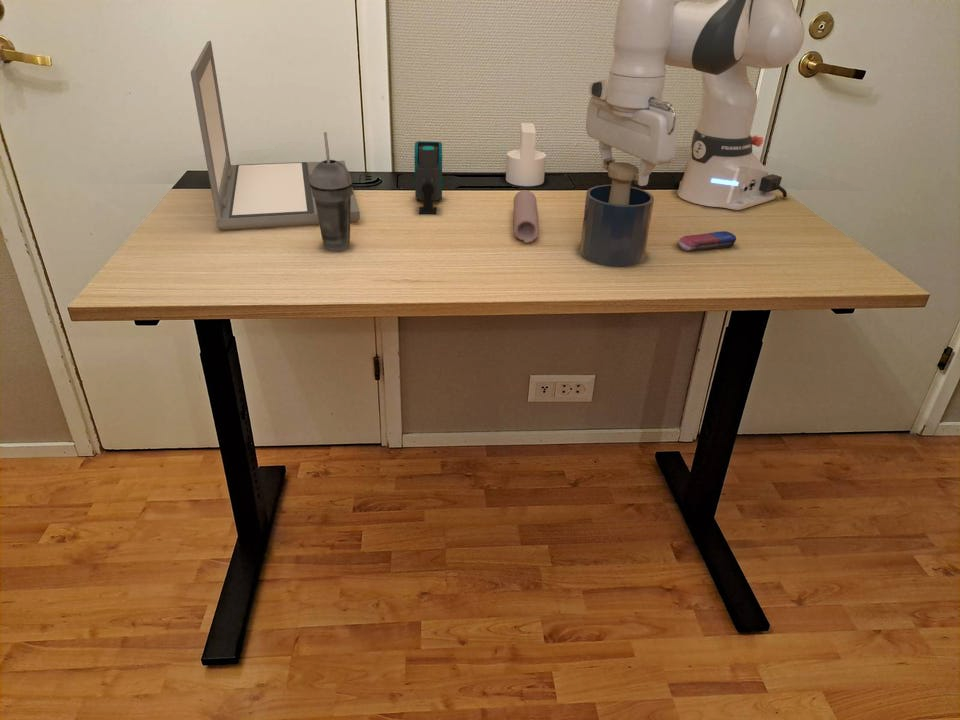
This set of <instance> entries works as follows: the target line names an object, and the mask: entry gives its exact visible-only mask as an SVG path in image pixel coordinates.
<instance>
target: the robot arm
mask: <svg viewBox="0 0 960 720" xmlns="http://www.w3.org/2000/svg"><path fill="white" fill-rule="evenodd" d="M804 40H805V26H804V22H803V19H802V18H801V17H800V15H799V14H798V12H797V10H796V9H795V5H794V2H793V0H716V1H713V2H701V1H699V2H698V1H690V0H689V1H687V0H619V2H618V7H617V11H616V16H615V22H614V28H613V36H612V47H613V58H612V61H611V65H610V67H609V72H608V77H606V78H603V79H598V80H594V81H591V82H590V83H589V85H588V94H589V95H590V96H591V97H590V98H589V100H588V103H587V108H586V119H585V130H586V134H587V136H588V137H589V138H591V139H593V140H595V141H598V142H599V143H598V149H599V152H600V158H601V164H600V166H601V167H600V168H602V169H603V170H606V171H608V167H609V164H610V163H614V162H616V159H615V158H614V157H613V151H612V150H613V149H612V148H614V149H616V150H619V151H621V152H624V153H626V154H629V155H630V156H633V157H635V158H638V159H640V166H641V169H640V170H639V171H638V173H635V180H633V182H634V184H635V185H637V186H640V187H644V186H647V185H648V183H649V178H650V175H651V174H652V172H653V171H654V169H655V168H656V167H657V166H660V165H666V164H670V163H671V162H672V161H673V160H674V159H675V157H676V153H677V152H676V151H677V141H678V121H677V117H678V114H677V112H676V111H675V109H674V107H673V104H672V103H671V102H668V101H663V93H664V87H665V81H666V73H667V69H666V65H667V66H669V67H677V68H684V69H691V70H695V71H698V72H700V75H701V85H702V86H701V88H702V90H701V91H702V92H701V101H700V108H699V114H698V119H697V124H696V129H694V131H693V135H692V138H691V144H690V148H691V152H690V153H689V156H688V159H687V162H686V166H685V169H684V173H683V176H682V179H681V180H680V181H679V184H678V189H677V191H676V194H677V196H678V197H679V198H681V199H682V200H685V201H686V202H690V203H693V204H696V205H701V206H706V207H713V208H723V209H730V210H734V211H741V210H745V209H747V208H748V209H749V208H751V207H754V206H757V205H760V204H763V203H766V202H769V201H773V200H775V199H776V197H777V194H776V193H775V192H776V191H779V192H781V194H782V197H783V198H787V197H788V192H787V190H786V189H785V188H784V187H783V186H781V182H782V179H783V176H781V175H778V174H773V173H771V174H769V171H768V168H767V167H766V166H765V165H764V164H763V163H762V162H761V161H760V160H759V158H757V156H756V155H755V154H754V153H753V146H755V147H757V148H760V147H762V145H763V143H764V138H763V137H762V136H758V135H753V136H752V135H751V131H752V127H753V123H754V118H755V113H756V109H757V105H758V94H757V92H756V90H755V88H754V87H753V86H752V84H751V82H750V80H749V75H748V67H750V68H754V69H759V70H761V69H762V70H764V69H765V70H767V69H780V68H783V67H786V66H787V65H789V64H790V63H791V62H793V60H794V59H795V58H796V57H797V55H798V54H799V53H800V52H801V51H800V50H801V48H802V47H803V44H804Z"/></svg>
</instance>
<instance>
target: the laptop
mask: <svg viewBox="0 0 960 720" xmlns="http://www.w3.org/2000/svg"><path fill="white" fill-rule="evenodd" d="M216 69H217V68H216V63H215V58H214V51H213V44H212V40H208V41H206V43H205V45H204V47H203V49H202V50H201V52H200V54H199V56H198V57H197V59H196V61H195V63H194V65H193V67H192V69H191V70H190V77H191V84H192V89H193V95H194V100H195V105H196V111H197V119H198V124H199V128H200V133H201V140H202V145H203V151H204V156H205V163H206V167H207V174H208V179H209V184H210V185H209V186H210V190H211V196H212V202H213V207H214V213H215V217H216V226H217V228H218V229H220V230H222V231H232V230H251V229H266V228H269V229H270V228H283V227H285V228H286V227H301V226H317V225H318V226H320V225H319V219H318V214H317V209H316V203H315V198H314V196H313V193H312V189H311V187H310V183H311V174H312V172H313V170H314V168H315V167H316V166H317V165H318V164H319V163H320V162H321V161H297V162H296V161H295V162H294V161H293V162H272V163H271V162H270V163H248V164H247V163H245V164H231V156H230V152H229V143H228V139H227V133H226V126H225V119H224V114H223V107H222V101H221V93H220V88H219V83H218V76H217V70H216ZM337 161H338V162H340V163H342V164H343V165H344V166H345V167H346V168H347V165H346V162H345V160H337ZM355 195H356V194H355V192H354V188H353V187H352V194H351V206H350V224H353V223H356V222H358V221H360V219H361V213H360V208H359V204H358V201H357V198H356V196H355Z"/></svg>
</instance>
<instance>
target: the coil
mask: <svg viewBox="0 0 960 720" xmlns="http://www.w3.org/2000/svg"><path fill="white" fill-rule="evenodd" d="M538 215H539V213H538V203H537V197H536V195H535V194H534V193H533V192H532V191H530V190H525V189H523V190H519V192H517V193H516V194H515V195H514V198H513V233H514V236H515V237H516V238H517V239H518V240H520V241H523V243H524V244H529V243H532V242H533V241H535V240H536V239H537V238H538V236H539V234H540V233H539V232H540V229H539V228H540V227H539V226H540V225H539V217H538Z"/></svg>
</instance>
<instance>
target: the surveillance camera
mask: <svg viewBox="0 0 960 720" xmlns="http://www.w3.org/2000/svg"><path fill="white" fill-rule="evenodd" d="M413 154H414V191H415V192H414V194H415V199H416V200H419V201H423V205H422V206H419V208H418V209H419V210H418V215H437V211H438V207H436V206H434V204H433V201H439V200H441V199H443V142H442V141H426V140H425V141H423V140H420V141H419V140H418V141H415V142H414V153H413Z"/></svg>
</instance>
